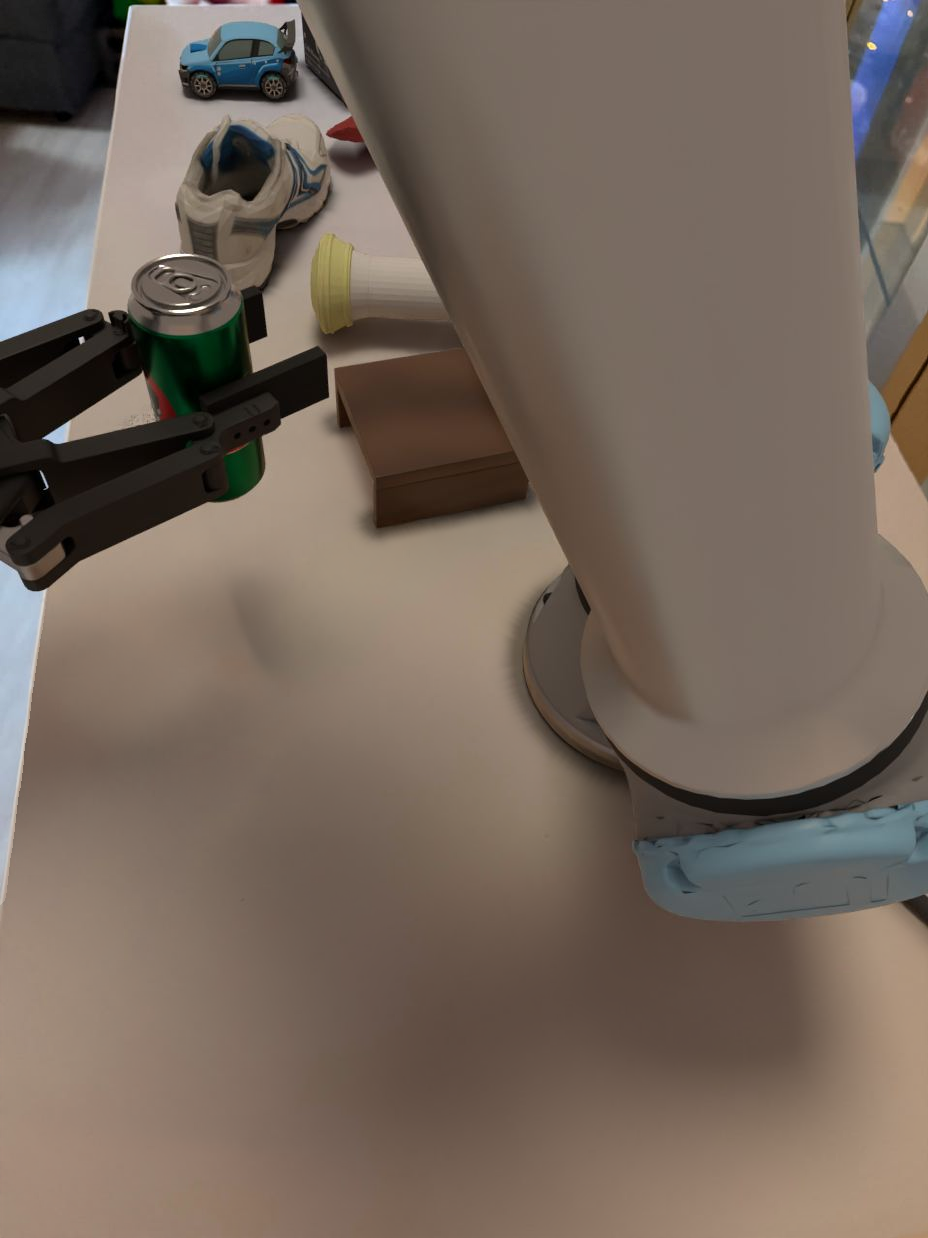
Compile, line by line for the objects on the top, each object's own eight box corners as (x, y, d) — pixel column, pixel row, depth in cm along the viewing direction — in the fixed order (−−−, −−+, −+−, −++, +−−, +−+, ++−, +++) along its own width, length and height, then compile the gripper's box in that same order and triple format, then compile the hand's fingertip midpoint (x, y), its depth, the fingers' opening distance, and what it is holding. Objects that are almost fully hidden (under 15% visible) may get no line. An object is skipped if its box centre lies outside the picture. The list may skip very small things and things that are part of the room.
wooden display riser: (526, 498, 67) (540, 418, 61) (376, 529, 64) (375, 448, 58) (475, 396, 73) (484, 314, 66) (336, 421, 70) (332, 338, 64)
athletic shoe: (345, 164, 90) (307, 30, 81) (297, 315, 77) (245, 176, 67) (247, 176, 92) (199, 47, 83) (184, 325, 79) (118, 191, 69)
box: (301, 63, 102) (293, -49, 93) (355, 52, 104) (352, -58, 96) (346, 108, 97) (342, -6, 88) (402, 95, 99) (404, -16, 91)
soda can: (232, 522, 49) (195, 331, 39) (151, 487, 50) (96, 292, 40) (284, 462, 52) (262, 270, 42) (207, 430, 53) (168, 235, 43)
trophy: (302, 264, 67) (714, 287, 69) (313, 206, 72) (700, 229, 73) (311, 357, 74) (686, 376, 75) (320, 299, 78) (675, 318, 80)
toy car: (184, 71, 99) (174, 11, 94) (299, 73, 100) (295, 14, 96) (180, 98, 96) (170, 38, 91) (300, 100, 97) (295, 40, 92)
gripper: (-221, 476, 45) (210, 310, 55) (-74, 746, 37) (396, 498, 47) (-315, 348, 39) (189, 187, 48) (-162, 640, 31) (399, 380, 41)
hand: (290, 340), depth 48 cm, fingers closed on soda can, 5 cm apart
